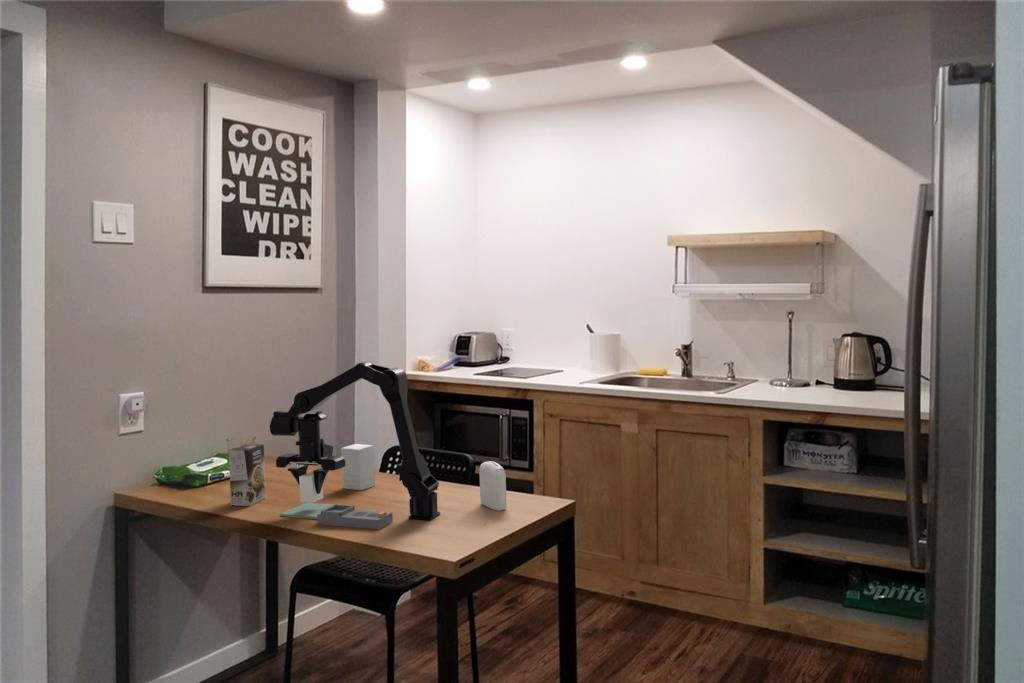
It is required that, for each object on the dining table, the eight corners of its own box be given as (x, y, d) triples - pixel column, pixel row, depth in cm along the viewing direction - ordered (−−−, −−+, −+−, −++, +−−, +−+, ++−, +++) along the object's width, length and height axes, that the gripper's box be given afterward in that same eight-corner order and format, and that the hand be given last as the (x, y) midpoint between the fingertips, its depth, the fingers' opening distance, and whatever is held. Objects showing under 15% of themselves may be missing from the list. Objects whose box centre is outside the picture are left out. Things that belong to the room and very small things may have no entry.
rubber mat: (343, 507, 223) (343, 505, 223) (318, 519, 212) (318, 517, 212) (306, 504, 227) (306, 502, 227) (280, 516, 216) (280, 513, 216)
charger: (323, 498, 221) (322, 472, 220) (312, 502, 216) (311, 476, 216) (310, 497, 222) (309, 471, 222) (300, 501, 218) (299, 475, 217)
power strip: (392, 521, 208) (392, 508, 208) (378, 529, 202) (378, 516, 201) (332, 516, 214) (332, 503, 214) (317, 523, 208) (316, 510, 208)
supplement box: (376, 485, 248) (375, 445, 247) (360, 491, 241) (358, 449, 241) (358, 483, 251) (356, 443, 251) (341, 488, 245) (340, 447, 244)
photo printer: (478, 503, 224) (477, 459, 223) (492, 501, 226) (491, 457, 225) (494, 512, 215) (493, 466, 214) (508, 509, 217) (507, 464, 216)
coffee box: (251, 506, 226) (248, 450, 225) (230, 506, 228) (227, 449, 227) (267, 498, 235) (264, 443, 234) (247, 497, 237) (244, 443, 236)
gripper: (355, 432, 222) (357, 488, 223) (297, 430, 229) (300, 484, 230) (332, 439, 212) (335, 498, 213) (273, 437, 218) (276, 493, 219)
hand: (311, 493), depth 219 cm, fingers closed on charger, 4 cm apart
